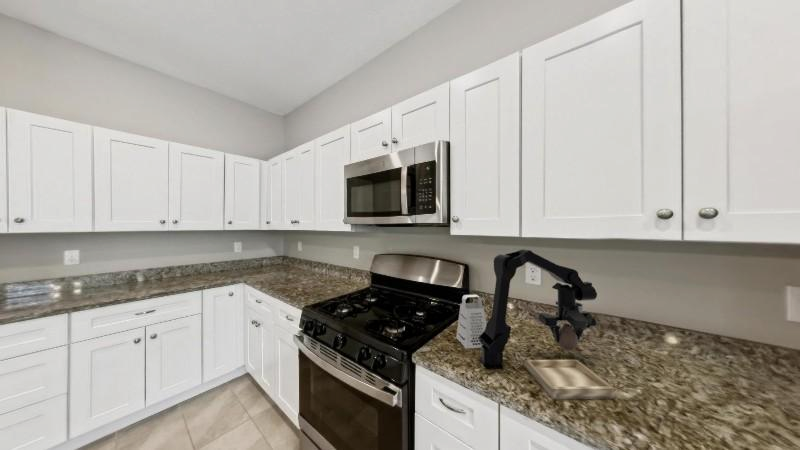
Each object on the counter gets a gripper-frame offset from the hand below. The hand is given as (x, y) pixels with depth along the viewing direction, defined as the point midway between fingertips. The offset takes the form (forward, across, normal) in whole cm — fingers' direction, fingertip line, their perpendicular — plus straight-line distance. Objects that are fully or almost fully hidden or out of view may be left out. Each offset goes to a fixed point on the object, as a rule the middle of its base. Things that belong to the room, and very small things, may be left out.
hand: (566, 342), depth 97 cm
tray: (+6, -10, -15) cm, 19 cm away
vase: (+2, 0, 0) cm, 2 cm away
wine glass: (+6, +14, +18) cm, 24 cm away
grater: (+6, -32, +14) cm, 35 cm away
